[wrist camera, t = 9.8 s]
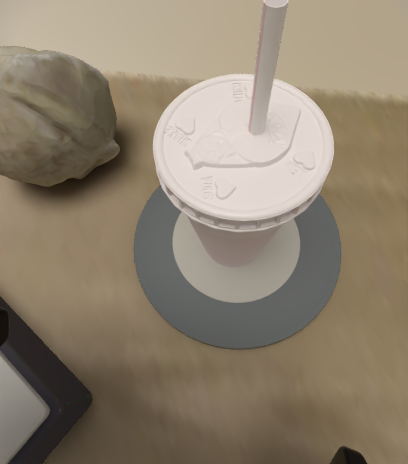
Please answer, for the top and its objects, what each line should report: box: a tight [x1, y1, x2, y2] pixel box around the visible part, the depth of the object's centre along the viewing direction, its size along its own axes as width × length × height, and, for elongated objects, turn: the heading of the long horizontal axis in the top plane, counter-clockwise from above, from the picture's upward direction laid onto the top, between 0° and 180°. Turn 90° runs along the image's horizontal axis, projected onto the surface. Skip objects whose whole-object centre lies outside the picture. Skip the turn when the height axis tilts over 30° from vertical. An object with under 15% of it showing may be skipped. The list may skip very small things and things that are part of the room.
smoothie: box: [153, 0, 334, 267], centre depth 13 cm, size 6×6×14 cm
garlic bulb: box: [0, 46, 120, 187], centre depth 20 cm, size 9×8×10 cm
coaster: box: [134, 185, 341, 349], centre depth 20 cm, size 13×13×1 cm
